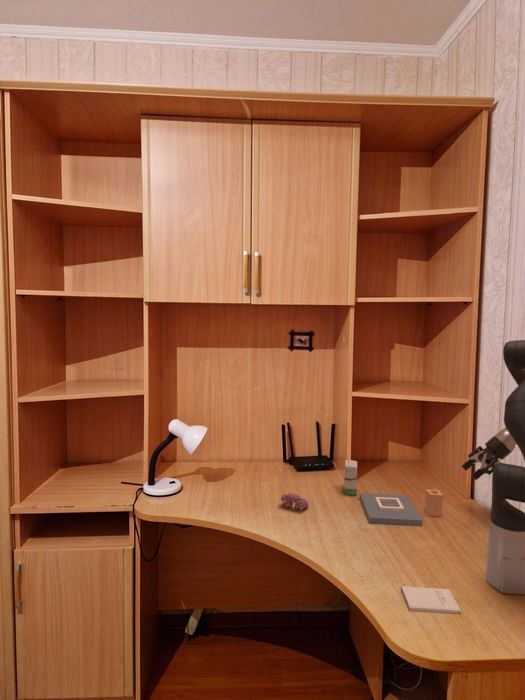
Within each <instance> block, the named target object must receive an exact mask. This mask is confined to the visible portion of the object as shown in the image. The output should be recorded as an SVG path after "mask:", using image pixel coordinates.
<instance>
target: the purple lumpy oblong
mask: <svg viewBox="0 0 525 700" xmlns="http://www.w3.org/2000/svg"><path fill="white" fill-rule="evenodd" d="M280 500H281V502H282V503H283V504H285V505H286V506H287V507H289V508H293V505H294V509H296V510H300V509H301V508H303V509H307V510H308V508H309V507H310V506H309V502H308V501H307V500H306V498H304V497H303V496H300V495H298V494H297V493H288V492H285V493H284V494H282V496H281V497H280Z"/></svg>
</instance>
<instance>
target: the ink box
mask: <svg viewBox="0 0 525 700" xmlns="http://www.w3.org/2000/svg"><path fill="white" fill-rule="evenodd" d="M344 462H345V464H344V478H343V480H344V481H343V495H345V496H353V497H354V496H357V483H358V461H357V460H352V459H345V461H344Z"/></svg>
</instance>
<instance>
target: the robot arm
mask: <svg viewBox="0 0 525 700" xmlns="http://www.w3.org/2000/svg"><path fill="white" fill-rule="evenodd" d="M502 350H503V351H502V355H503V356H502V357H503V361H504V364H505V366H506V368H507V370H508V372H509V374H510V376H512V379H513V380H514V382H515V383H516V384H517V387H516V388H515V389H514V390H513V391H512V392H511V393H510V394H509V395H508V397H507V398H506V400H505V404H504V411H503V412H504V413H503V414H504V415H503V422H504V423H503V424H504V426H505V427H503V428H502V429H501V430H500V431H498V432H496V434H494V435H493V436H492V437H491V438H490V439H488V441H487V442H485V444H484V445H485V446H486V447H485V448H483V447H482V446H481V445H479V446H478V447H477V448H475V449H474V450H472V451H471V452H470V453H469V454H468V455H467V457H468V460H467V461H465V462H464V463H463V464H461V468H462V469H463V470H464V471H468V470H469V469H470V468H471V467H473V466H474V465H475V464H477V463H479V464H480V467H479V468H477V469H476V470H475V471H474V472H473V473H472V474H471V478H473V479H474V480H475V481H477V480H478V479H480V478H481V477H483V476H484V474H485V475H486V474H487V475H488V476H489V475H492V476H491V479H492V480H491V507H490V517H489V529H488V545H487V556H486V572H485V580H486V582H487V583H488V584H489V585H490V586H491V587H492V588H494V589H496V590H498V591H499V592H500V593H501V594H509V595H510V594H511V595H525V512H524V511H523V510H521V509H520V508H518V507H516V506H514V505H512V504H511V503H510V502H509V501H514V502H518V503H523V504H525V466H522V465H516V464H510V463H505V462H501V461H502V460H504V459H506V457H507V456H509V455H510V454H511V453H512V452H513V450H514V448H515V445H516V444H517V445H518V447H517V448H518V449H519V451H520V453H521V454H522V457H523V460H524V462H525V339H520V340H509V341H507V342H505V343H504V346H503V349H502ZM514 451H515V450H514ZM500 460H501V461H500ZM508 500H509V501H508Z"/></svg>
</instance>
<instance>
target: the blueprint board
mask: <svg viewBox="0 0 525 700" xmlns="http://www.w3.org/2000/svg"><path fill="white" fill-rule="evenodd" d="M359 500H360V502H361V504H362V508H363V511H364V513H365V515H366V517H367V520H368V523H369V524H379V525H398V526H399V525H400V526H415V527H417V526H418V527H419V526H420V527H423V519H422V517H421V515H420V514H419V513H418V511H417V509H416V508H415V506H414V504H413V503H412V501H411V500H410V498H409V496H408V495H407V494H389V493H388V494H387V493H367V492H365V493H362V492H360V493H359Z"/></svg>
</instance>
